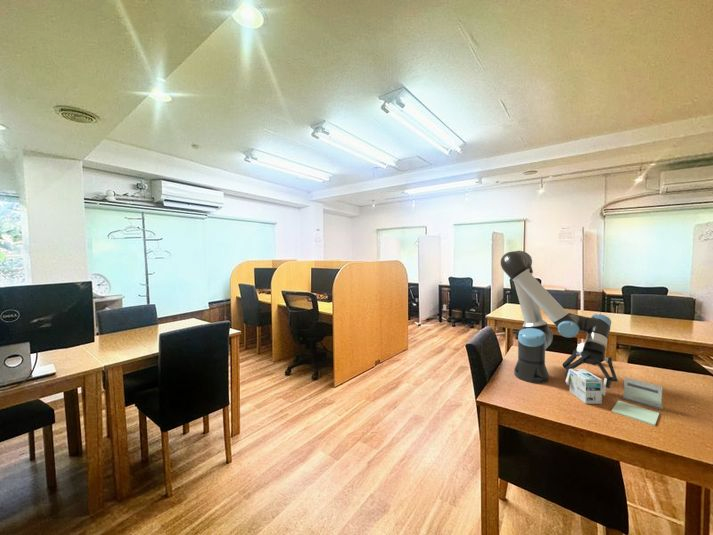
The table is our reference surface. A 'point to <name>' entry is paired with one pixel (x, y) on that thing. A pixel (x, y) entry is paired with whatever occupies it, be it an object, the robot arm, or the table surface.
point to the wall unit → (643, 393)
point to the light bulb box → (586, 386)
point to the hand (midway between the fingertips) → (584, 388)
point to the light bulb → (580, 348)
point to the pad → (636, 412)
